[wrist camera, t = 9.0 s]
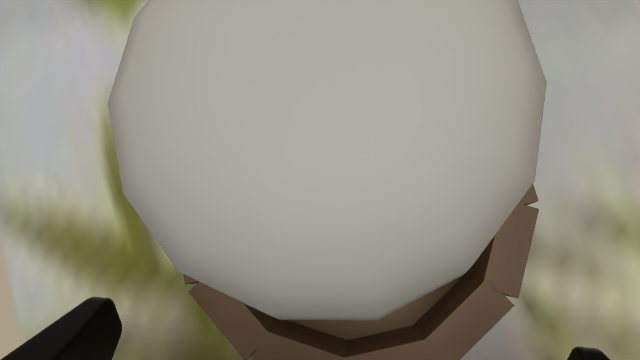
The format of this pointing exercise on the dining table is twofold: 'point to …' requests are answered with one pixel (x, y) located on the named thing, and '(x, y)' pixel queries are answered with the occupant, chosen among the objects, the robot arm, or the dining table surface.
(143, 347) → the dining table surface
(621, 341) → the dining table surface
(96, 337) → the robot arm
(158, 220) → the salt shaker
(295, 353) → the collar stand
